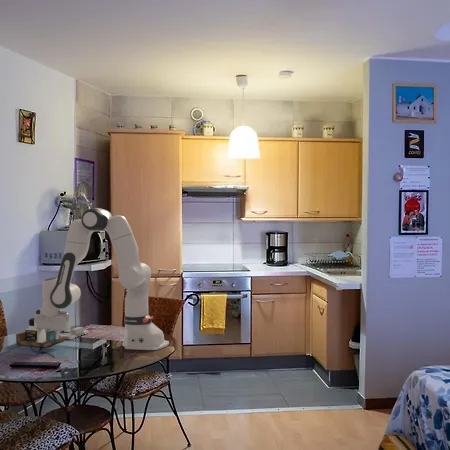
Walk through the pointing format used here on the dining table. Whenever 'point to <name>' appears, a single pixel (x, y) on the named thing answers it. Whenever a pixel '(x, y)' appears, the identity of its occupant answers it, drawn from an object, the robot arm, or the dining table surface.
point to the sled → (49, 341)
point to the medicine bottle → (34, 333)
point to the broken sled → (75, 333)
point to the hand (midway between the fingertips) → (52, 338)
